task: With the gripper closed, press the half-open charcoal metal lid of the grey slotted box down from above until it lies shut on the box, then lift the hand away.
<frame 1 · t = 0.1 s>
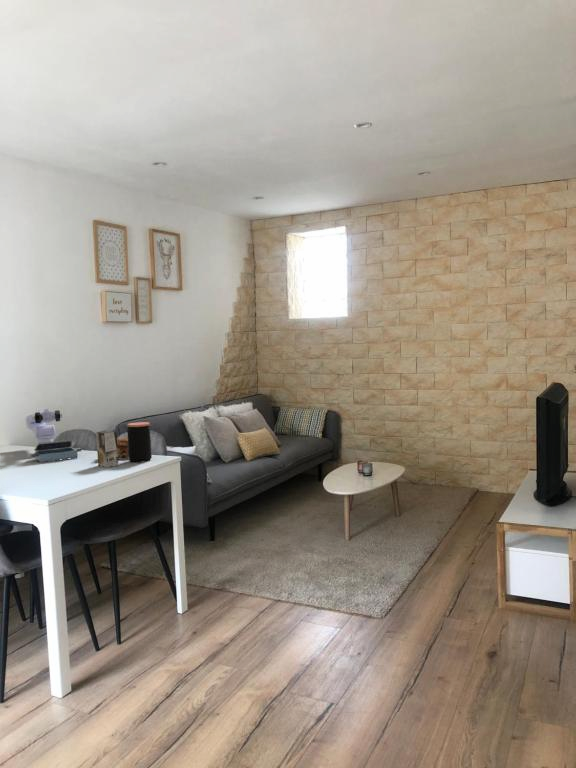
hand: (50, 416, 318), 22 cm above the table, tool horizontal, fingers open, 7 cm apart
coffee jar: (140, 461, 305), on the table
lid: (55, 443, 322), point 7 cm above the table, hinge at 20.0°
coffee box: (108, 466, 295), on the table
bread: (123, 458, 317), on the table
grey slotted box: (56, 458, 322), on the table
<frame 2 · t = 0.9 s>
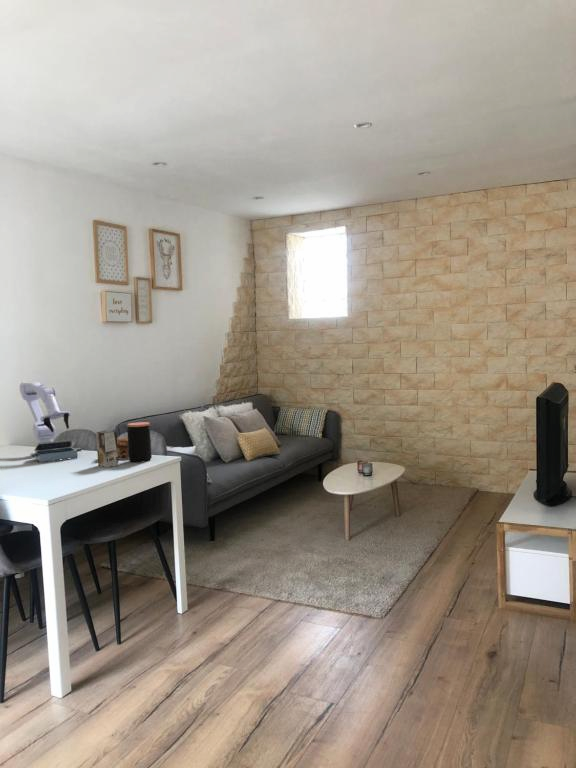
hand: (60, 429, 319), 15 cm above the table, tool tilted 40°, fingers open, 7 cm apart
nothing on the table moved.
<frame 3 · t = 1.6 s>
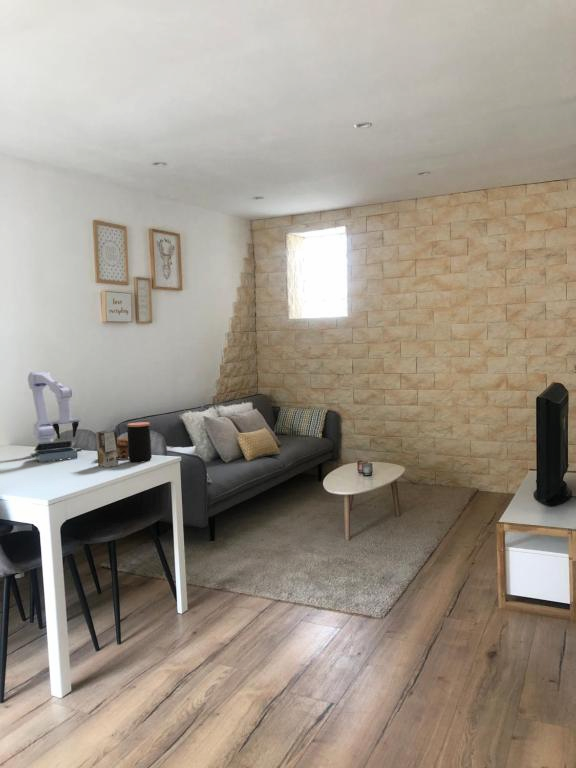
hand: (66, 437, 321), 10 cm above the table, tool pointing down, fingers open, 7 cm apart
nothing on the table moved.
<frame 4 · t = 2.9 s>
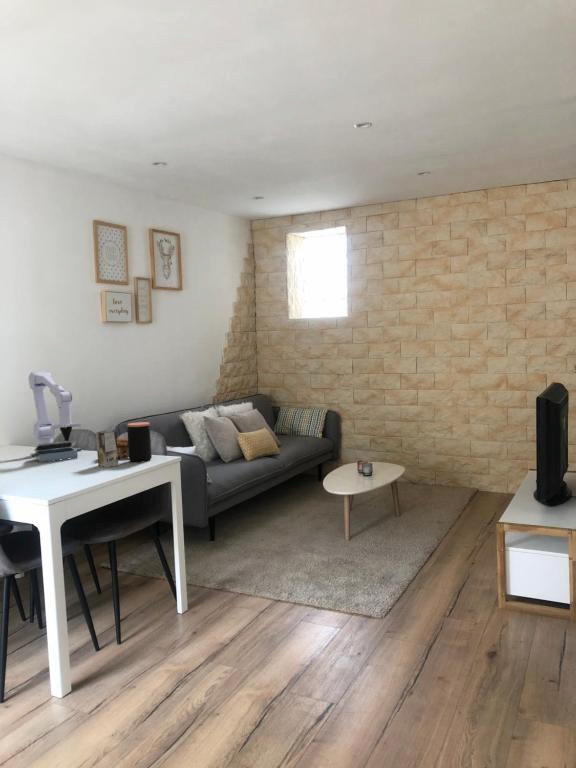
hand: (66, 441, 321), 8 cm above the table, tool pointing down, fingers closed, pressing on lid
lid: (55, 444, 322), point 7 cm above the table, hinge at 17.4°, touching gripper
everything else where it was.
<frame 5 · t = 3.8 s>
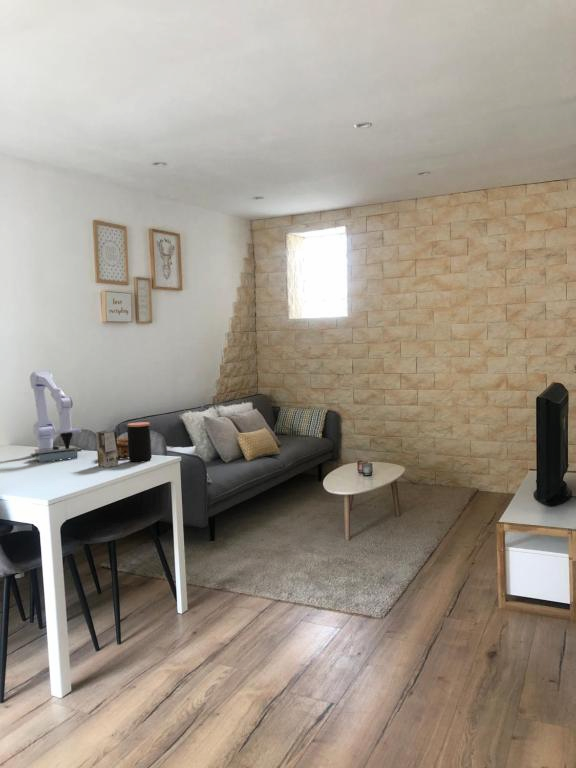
hand: (67, 447, 321), 5 cm above the table, tool pointing down, fingers closed, pressing on lid
lid: (55, 448, 321), point 5 cm above the table, hinge at 2.2°, touching gripper
everything else where it was.
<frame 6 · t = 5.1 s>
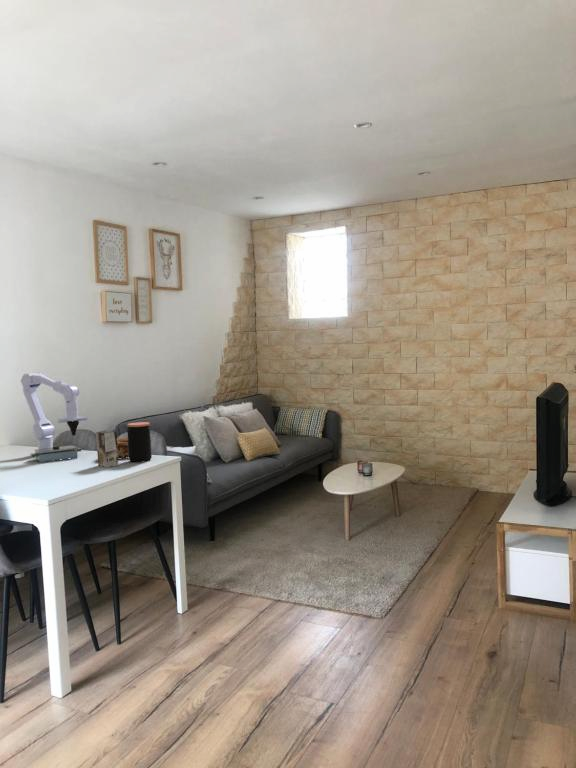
hand: (73, 435, 330), 10 cm above the table, tool pointing down, fingers closed
lid: (55, 448, 321), point 5 cm above the table, hinge at 2.2°
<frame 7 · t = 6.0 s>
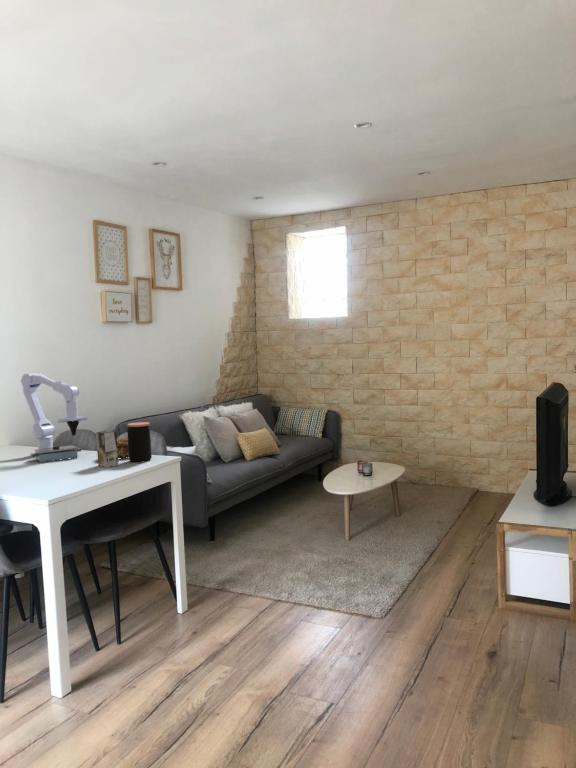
hand: (73, 435, 330), 10 cm above the table, tool pointing down, fingers closed
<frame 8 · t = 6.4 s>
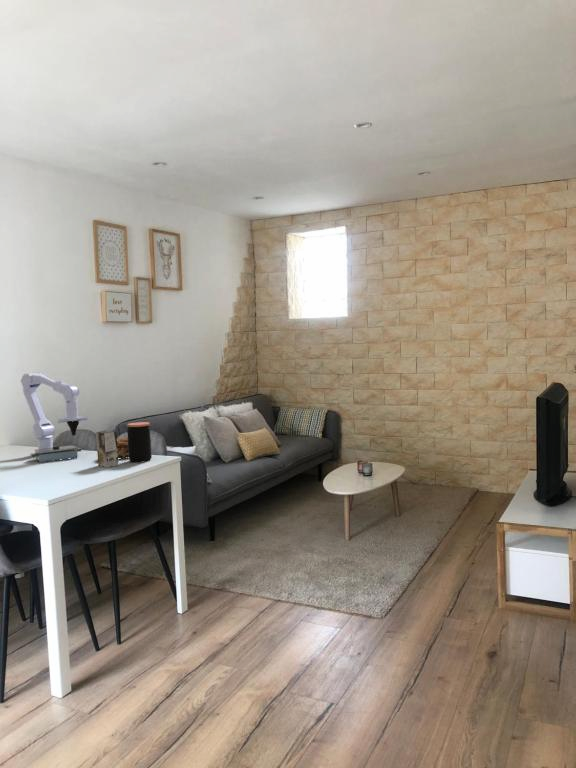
hand: (73, 435, 330), 10 cm above the table, tool pointing down, fingers closed
at the end: lid at +2° (first picture: +20°) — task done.
